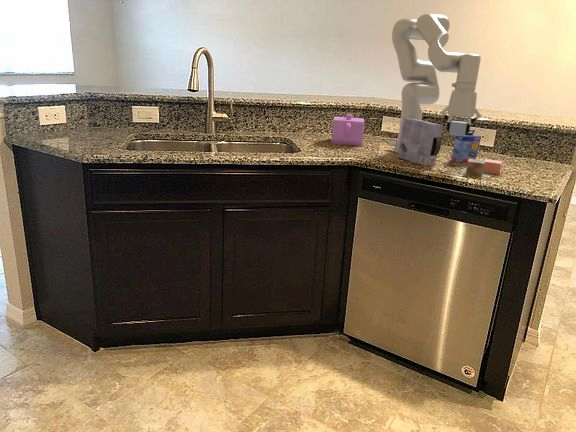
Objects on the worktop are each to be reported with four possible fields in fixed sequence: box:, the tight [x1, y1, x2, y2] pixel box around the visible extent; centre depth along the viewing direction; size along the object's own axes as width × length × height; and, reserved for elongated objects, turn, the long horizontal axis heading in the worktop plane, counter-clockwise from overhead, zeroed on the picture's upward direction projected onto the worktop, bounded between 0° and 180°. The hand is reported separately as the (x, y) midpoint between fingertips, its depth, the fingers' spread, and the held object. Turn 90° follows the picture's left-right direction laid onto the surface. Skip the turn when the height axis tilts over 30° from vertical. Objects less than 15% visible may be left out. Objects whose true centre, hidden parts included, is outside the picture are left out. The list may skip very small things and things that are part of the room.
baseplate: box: [460, 169, 489, 178], centre depth 185 cm, size 10×7×1 cm
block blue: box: [448, 120, 468, 137], centre depth 189 cm, size 6×6×5 cm
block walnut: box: [465, 158, 486, 177], centre depth 183 cm, size 6×6×5 cm
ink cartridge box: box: [450, 129, 482, 164], centre depth 204 cm, size 10×6×14 cm, turn 111°
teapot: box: [330, 113, 365, 147], centre depth 236 cm, size 15×25×14 cm, turn 173°
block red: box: [483, 158, 503, 175], centre depth 189 cm, size 6×6×5 cm
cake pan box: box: [397, 118, 444, 166], centre depth 199 cm, size 19×5×18 cm, turn 32°
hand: (457, 132), depth 190 cm, fingers closed on block blue, 6 cm apart
